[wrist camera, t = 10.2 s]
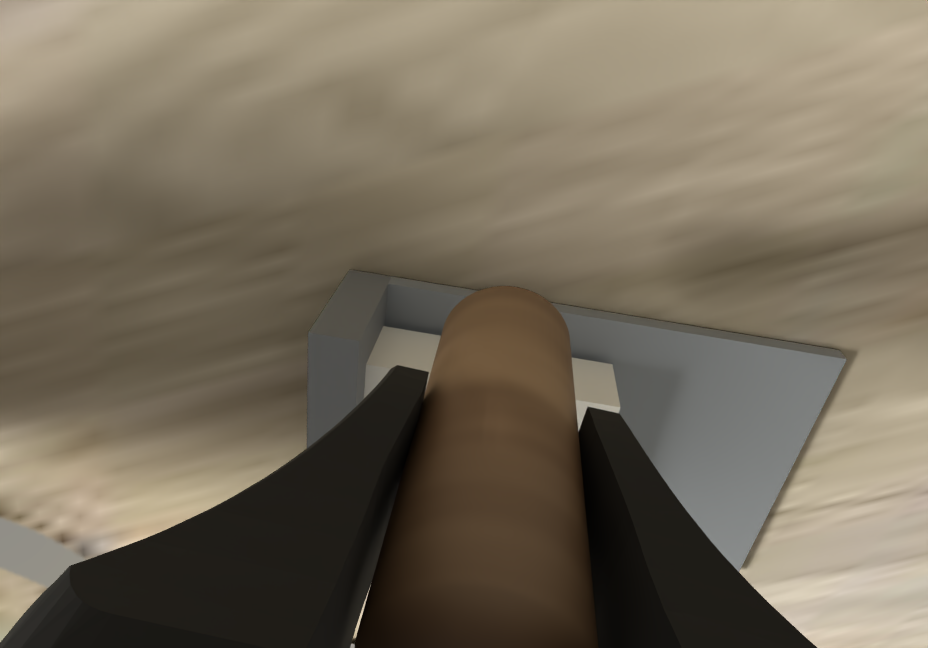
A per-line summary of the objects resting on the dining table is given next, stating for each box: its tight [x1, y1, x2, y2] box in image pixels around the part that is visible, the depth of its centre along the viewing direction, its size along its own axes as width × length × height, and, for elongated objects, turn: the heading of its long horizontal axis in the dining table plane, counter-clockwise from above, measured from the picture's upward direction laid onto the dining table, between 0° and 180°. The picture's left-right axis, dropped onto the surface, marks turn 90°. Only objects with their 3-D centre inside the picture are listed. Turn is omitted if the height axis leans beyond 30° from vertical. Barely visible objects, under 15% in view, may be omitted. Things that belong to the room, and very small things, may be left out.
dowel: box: [355, 286, 598, 648], centre depth 11 cm, size 3×3×8 cm
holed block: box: [364, 326, 620, 432], centre depth 23 cm, size 8×8×2 cm
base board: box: [307, 270, 847, 572], centre depth 22 cm, size 11×17×4 cm, turn 83°
